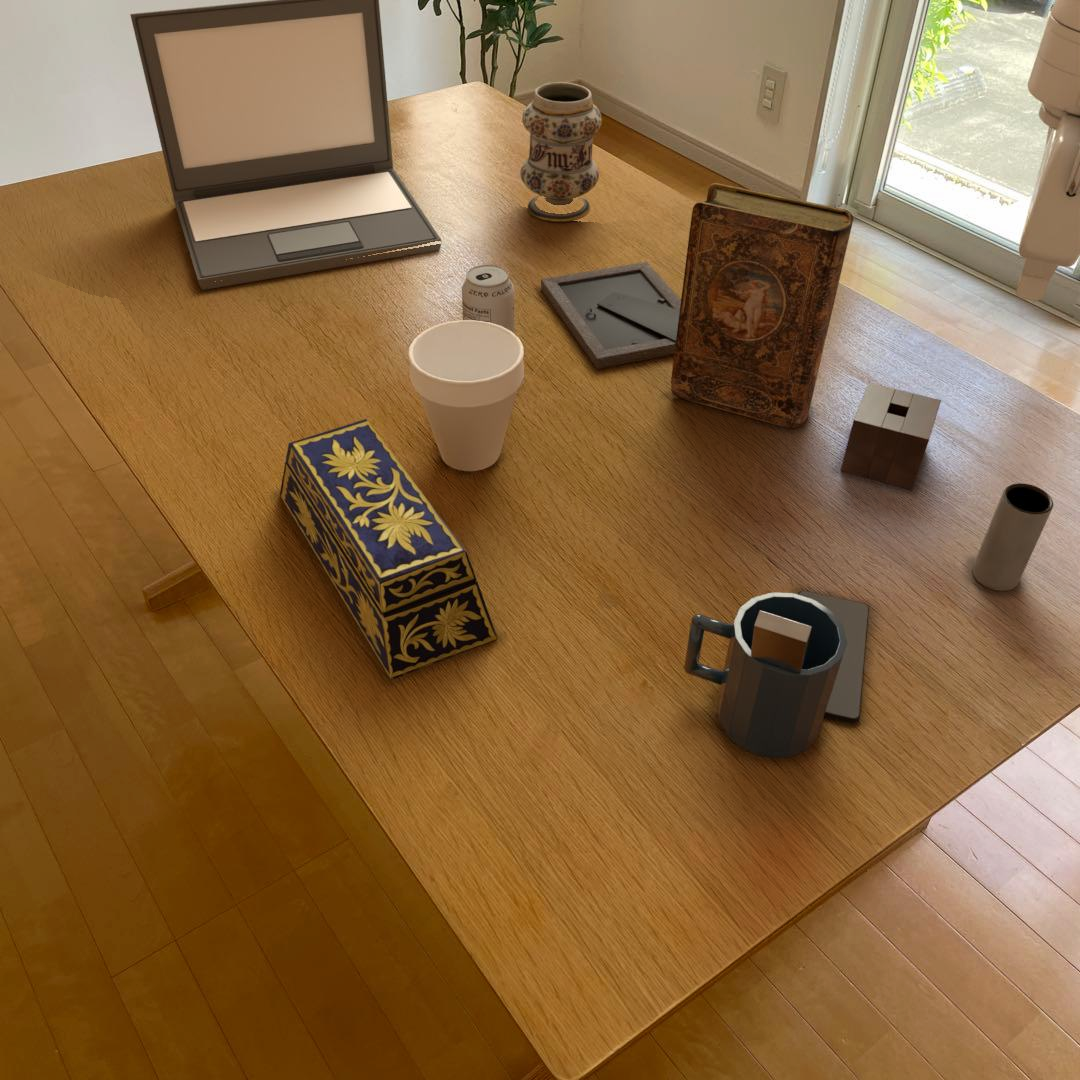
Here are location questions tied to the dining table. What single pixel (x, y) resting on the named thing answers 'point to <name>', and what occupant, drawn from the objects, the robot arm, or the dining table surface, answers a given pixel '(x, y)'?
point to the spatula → (780, 641)
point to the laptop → (278, 137)
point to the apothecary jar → (560, 147)
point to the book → (757, 302)
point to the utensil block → (890, 435)
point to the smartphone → (847, 656)
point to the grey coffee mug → (771, 676)
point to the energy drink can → (489, 296)
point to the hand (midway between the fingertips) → (1035, 265)
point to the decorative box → (384, 549)
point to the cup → (467, 388)
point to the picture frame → (617, 312)
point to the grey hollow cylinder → (1012, 536)
